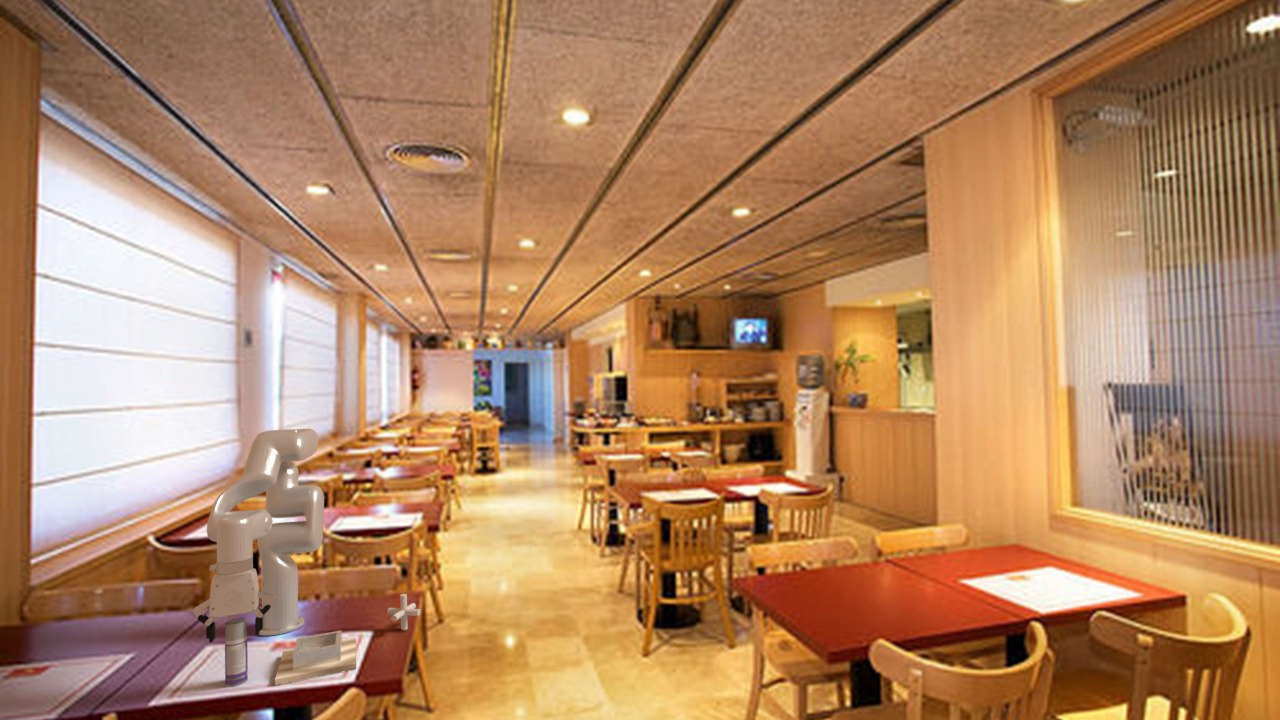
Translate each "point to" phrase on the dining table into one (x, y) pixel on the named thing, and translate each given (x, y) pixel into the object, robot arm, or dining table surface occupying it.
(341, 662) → the birch board
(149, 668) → the dining table surface
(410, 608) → the pipe connector
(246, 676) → the container
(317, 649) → the duct collar
